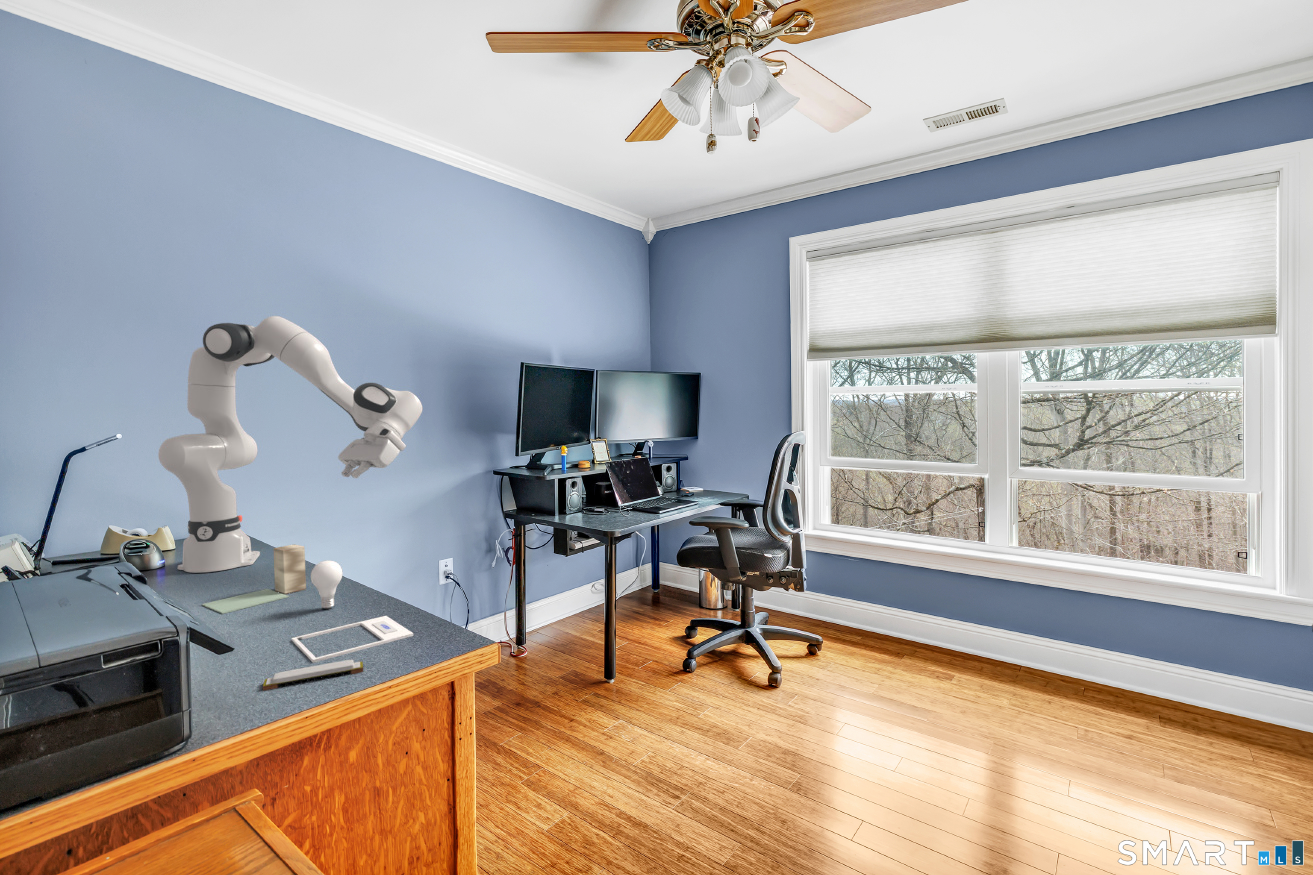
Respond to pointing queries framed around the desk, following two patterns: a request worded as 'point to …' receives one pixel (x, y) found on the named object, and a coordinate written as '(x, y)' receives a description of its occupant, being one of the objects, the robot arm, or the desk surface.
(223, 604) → the mat
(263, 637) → the desk surface
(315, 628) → the desk surface
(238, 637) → the desk surface
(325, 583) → the lightbulb
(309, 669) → the harmonica
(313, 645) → the desk surface
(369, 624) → the photo frame
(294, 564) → the birch block
